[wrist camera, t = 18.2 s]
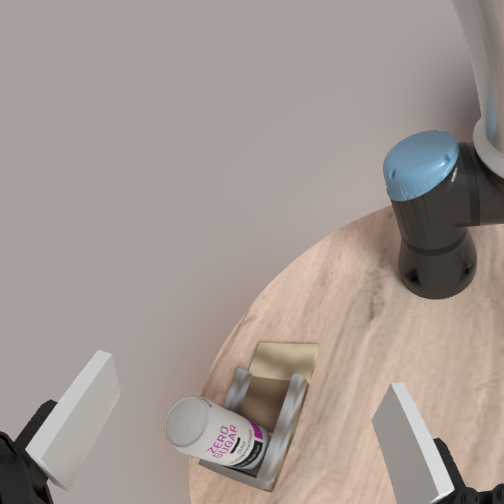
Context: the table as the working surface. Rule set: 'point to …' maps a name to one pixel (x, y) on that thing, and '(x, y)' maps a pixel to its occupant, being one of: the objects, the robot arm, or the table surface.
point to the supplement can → (215, 434)
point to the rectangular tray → (270, 405)
